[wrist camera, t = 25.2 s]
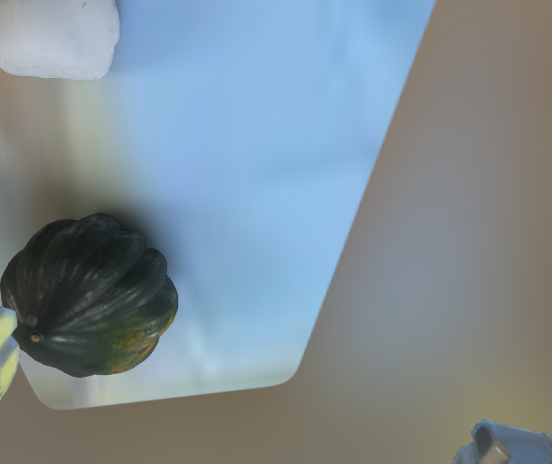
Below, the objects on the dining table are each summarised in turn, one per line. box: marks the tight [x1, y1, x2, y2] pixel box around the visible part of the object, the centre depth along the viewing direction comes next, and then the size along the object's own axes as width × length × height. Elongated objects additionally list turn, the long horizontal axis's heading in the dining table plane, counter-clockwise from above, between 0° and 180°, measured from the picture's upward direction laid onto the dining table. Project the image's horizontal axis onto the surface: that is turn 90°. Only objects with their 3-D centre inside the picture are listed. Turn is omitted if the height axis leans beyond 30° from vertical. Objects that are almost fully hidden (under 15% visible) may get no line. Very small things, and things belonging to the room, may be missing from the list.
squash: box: [0, 213, 178, 378], centre depth 46 cm, size 14×15×15 cm
